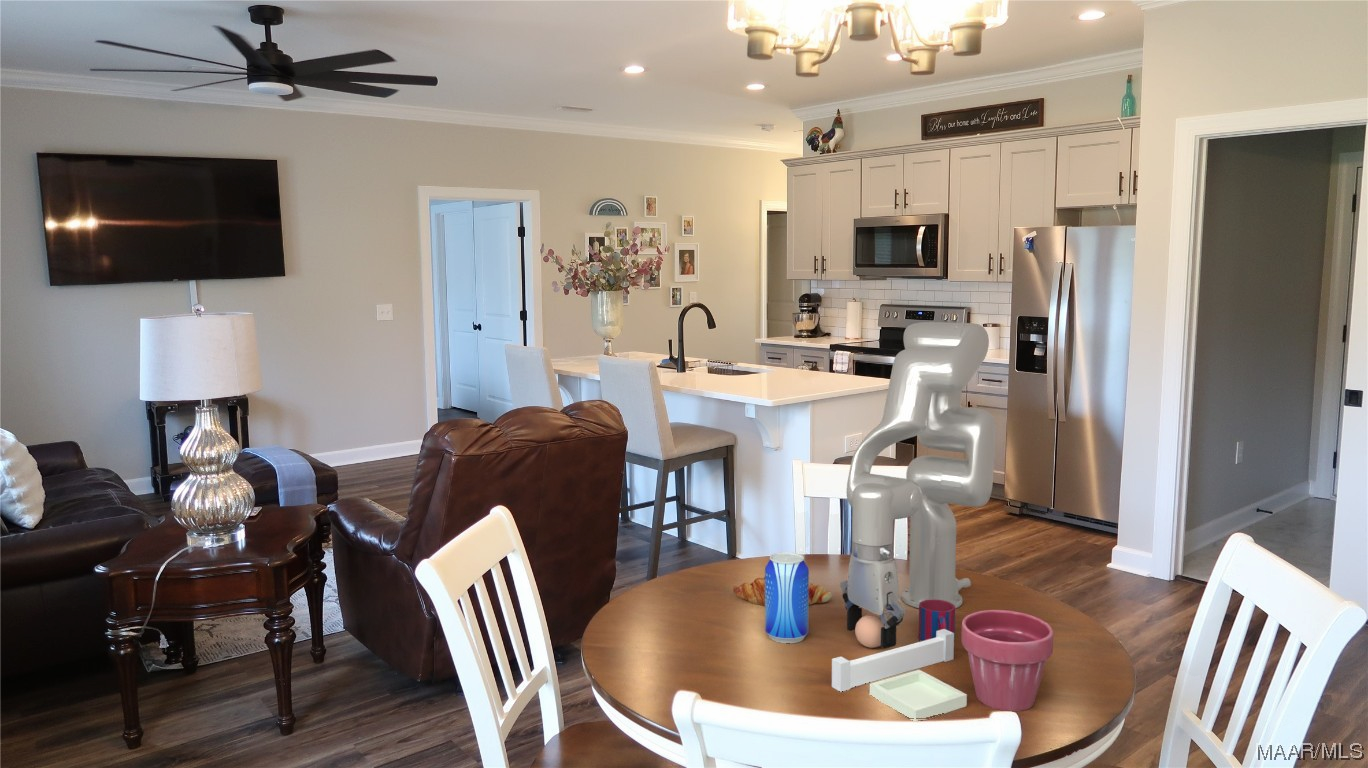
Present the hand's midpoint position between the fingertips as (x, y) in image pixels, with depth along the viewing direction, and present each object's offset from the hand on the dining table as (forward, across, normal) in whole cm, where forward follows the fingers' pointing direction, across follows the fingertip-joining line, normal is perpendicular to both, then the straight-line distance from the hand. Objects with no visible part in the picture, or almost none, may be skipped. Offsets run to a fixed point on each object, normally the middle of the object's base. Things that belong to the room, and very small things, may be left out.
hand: (870, 637), depth 173 cm
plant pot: (+2, -28, -5) cm, 28 cm away
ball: (+2, 0, 0) cm, 2 cm away
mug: (+2, -5, -12) cm, 13 cm away
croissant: (+2, +28, +1) cm, 28 cm away
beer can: (+2, +12, +11) cm, 16 cm away
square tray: (+2, -21, +8) cm, 23 cm away
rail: (+2, -11, +4) cm, 12 cm away
